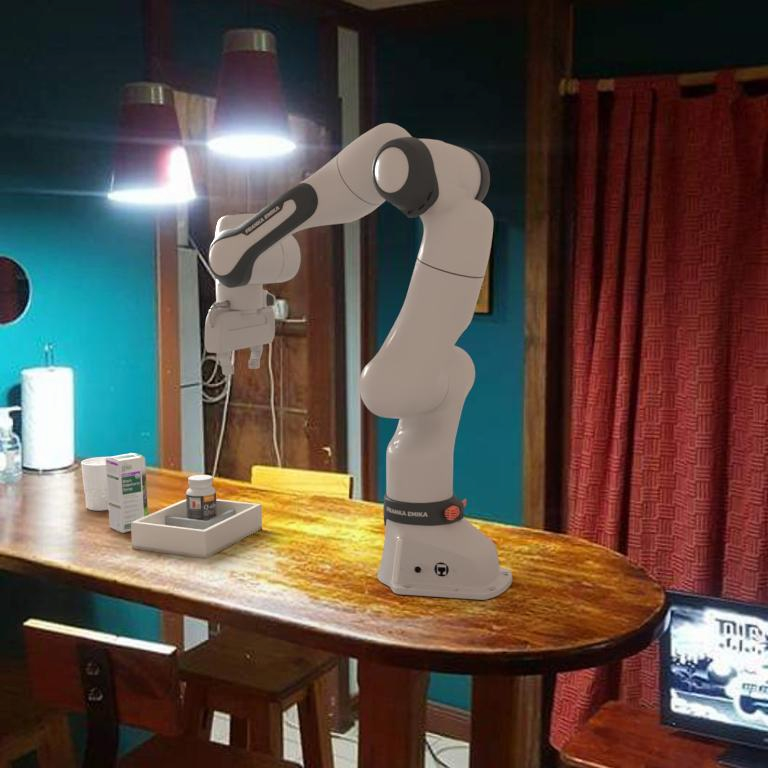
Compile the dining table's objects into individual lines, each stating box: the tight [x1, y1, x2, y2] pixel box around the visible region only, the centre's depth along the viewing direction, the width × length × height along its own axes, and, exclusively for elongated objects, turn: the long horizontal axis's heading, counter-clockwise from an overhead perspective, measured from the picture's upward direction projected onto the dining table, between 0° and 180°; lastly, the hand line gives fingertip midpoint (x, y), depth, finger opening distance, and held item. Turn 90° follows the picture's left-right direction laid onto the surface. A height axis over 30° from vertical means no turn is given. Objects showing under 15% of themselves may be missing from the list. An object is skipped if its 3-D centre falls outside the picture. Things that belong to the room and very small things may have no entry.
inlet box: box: [130, 498, 263, 559], centre depth 197 cm, size 16×20×5 cm
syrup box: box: [106, 452, 149, 534], centre depth 203 cm, size 6×6×14 cm
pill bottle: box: [185, 474, 217, 521], centre depth 202 cm, size 6×6×10 cm
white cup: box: [81, 456, 109, 512], centre depth 220 cm, size 8×8×10 cm
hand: (241, 371), depth 199 cm, fingers open, 8 cm apart
